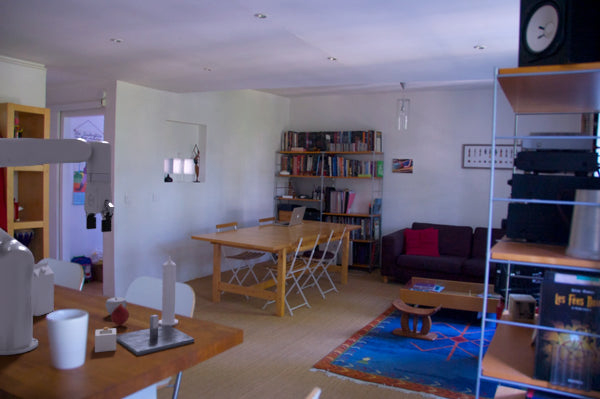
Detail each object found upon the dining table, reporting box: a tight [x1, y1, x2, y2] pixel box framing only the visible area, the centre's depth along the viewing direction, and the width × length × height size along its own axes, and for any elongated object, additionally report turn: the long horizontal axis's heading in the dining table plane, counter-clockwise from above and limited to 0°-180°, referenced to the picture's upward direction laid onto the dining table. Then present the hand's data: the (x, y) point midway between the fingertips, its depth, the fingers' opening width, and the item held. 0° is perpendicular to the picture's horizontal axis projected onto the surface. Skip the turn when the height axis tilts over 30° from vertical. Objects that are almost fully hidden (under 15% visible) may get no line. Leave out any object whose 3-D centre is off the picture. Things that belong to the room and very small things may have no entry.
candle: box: [158, 255, 179, 327], centre depth 171 cm, size 7×7×25 cm
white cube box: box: [94, 326, 117, 353], centre depth 146 cm, size 6×6×6 cm
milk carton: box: [33, 261, 55, 317], centre depth 179 cm, size 7×7×19 cm
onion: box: [110, 304, 130, 327], centre depth 167 cm, size 6×6×8 cm
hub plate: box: [116, 314, 195, 356], centre depth 153 cm, size 19×18×8 cm
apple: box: [104, 296, 128, 316], centre depth 180 cm, size 8×8×7 cm
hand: (98, 230), depth 157 cm, fingers open, 9 cm apart
